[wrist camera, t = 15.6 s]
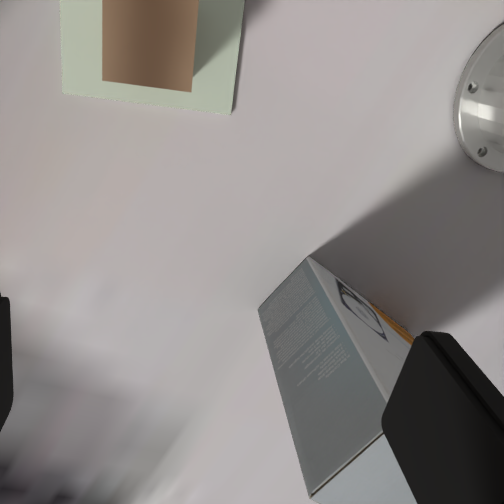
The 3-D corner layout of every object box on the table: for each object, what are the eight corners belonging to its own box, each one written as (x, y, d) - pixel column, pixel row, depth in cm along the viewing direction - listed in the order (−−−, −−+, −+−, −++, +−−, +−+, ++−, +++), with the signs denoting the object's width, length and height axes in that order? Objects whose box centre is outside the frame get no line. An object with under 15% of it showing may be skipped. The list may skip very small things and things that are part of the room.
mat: (246, -22, 31) (247, -23, 30) (230, 114, 34) (230, 115, 34) (59, -57, 28) (57, -58, 28) (64, 92, 32) (62, 93, 32)
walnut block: (195, 2, 30) (199, -5, 24) (189, 80, 32) (191, 92, 26) (118, -11, 29) (102, -22, 23) (117, 71, 31) (102, 80, 25)
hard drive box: (412, 331, 47) (554, 515, 29) (360, 379, 49) (464, 579, 31) (307, 251, 41) (406, 421, 23) (252, 309, 43) (305, 507, 25)
